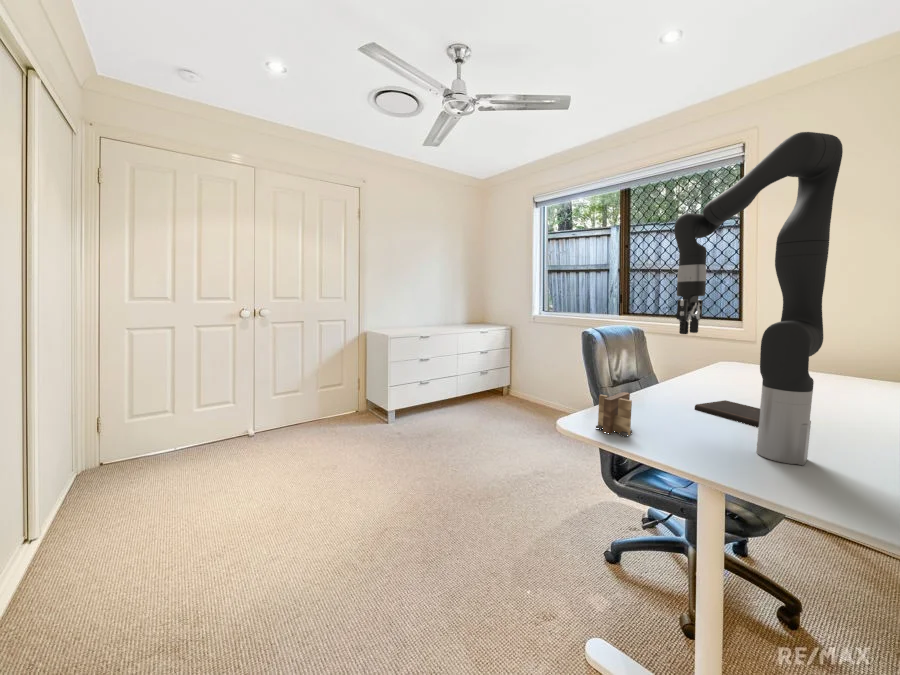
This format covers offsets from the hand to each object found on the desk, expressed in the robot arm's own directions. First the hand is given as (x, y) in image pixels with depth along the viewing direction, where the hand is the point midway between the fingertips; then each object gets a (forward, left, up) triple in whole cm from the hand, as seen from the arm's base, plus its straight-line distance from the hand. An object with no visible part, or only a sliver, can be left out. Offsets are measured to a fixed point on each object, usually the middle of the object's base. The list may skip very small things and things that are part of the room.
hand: (688, 333), depth 121 cm
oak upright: (+10, +27, -28) cm, 40 cm away
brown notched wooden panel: (+10, +25, -28) cm, 38 cm away
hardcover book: (-12, -19, -28) cm, 36 cm away
